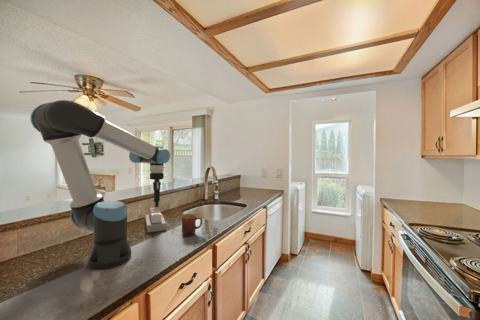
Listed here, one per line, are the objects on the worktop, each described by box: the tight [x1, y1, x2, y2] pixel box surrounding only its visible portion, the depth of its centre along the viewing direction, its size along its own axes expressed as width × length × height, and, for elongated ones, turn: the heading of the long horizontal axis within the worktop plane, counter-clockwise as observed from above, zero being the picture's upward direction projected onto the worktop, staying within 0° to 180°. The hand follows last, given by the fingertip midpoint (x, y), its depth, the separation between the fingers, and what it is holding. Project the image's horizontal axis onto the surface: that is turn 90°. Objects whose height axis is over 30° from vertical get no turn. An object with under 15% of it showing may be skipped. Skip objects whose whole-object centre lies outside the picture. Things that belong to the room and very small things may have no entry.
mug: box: [180, 213, 203, 237], centre depth 112 cm, size 12×9×10 cm
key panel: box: [145, 212, 167, 233], centre depth 126 cm, size 10×23×4 cm, turn 27°
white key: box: [151, 212, 161, 223], centre depth 119 cm, size 5×5×4 cm
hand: (156, 212), depth 119 cm, fingers closed
